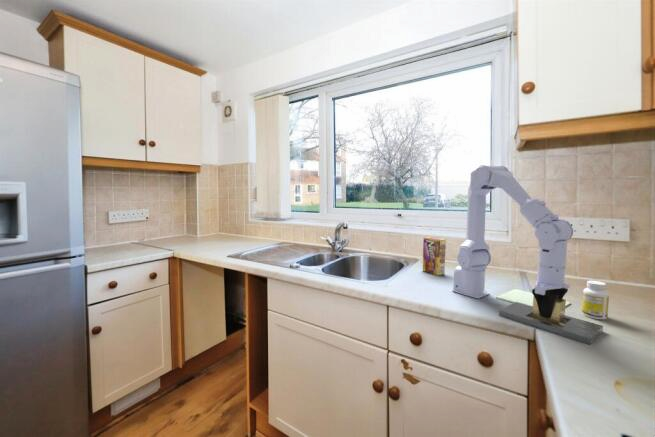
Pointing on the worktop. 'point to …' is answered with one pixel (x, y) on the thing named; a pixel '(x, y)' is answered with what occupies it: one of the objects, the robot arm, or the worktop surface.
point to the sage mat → (520, 297)
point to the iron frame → (571, 329)
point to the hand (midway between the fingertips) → (548, 315)
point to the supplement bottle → (595, 300)
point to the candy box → (434, 255)
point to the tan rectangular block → (557, 312)
